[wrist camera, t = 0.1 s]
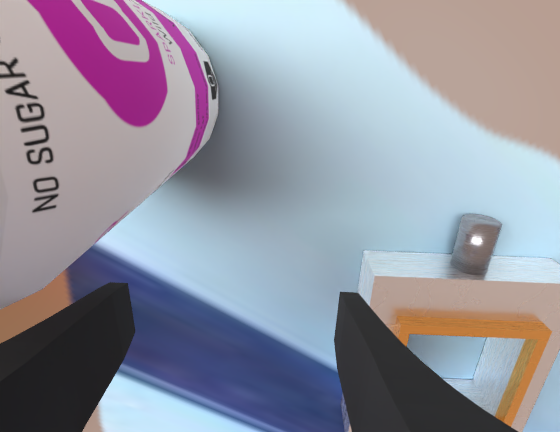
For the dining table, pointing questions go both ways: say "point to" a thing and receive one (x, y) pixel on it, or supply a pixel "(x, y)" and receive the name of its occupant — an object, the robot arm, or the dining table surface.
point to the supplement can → (89, 125)
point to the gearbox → (474, 312)
